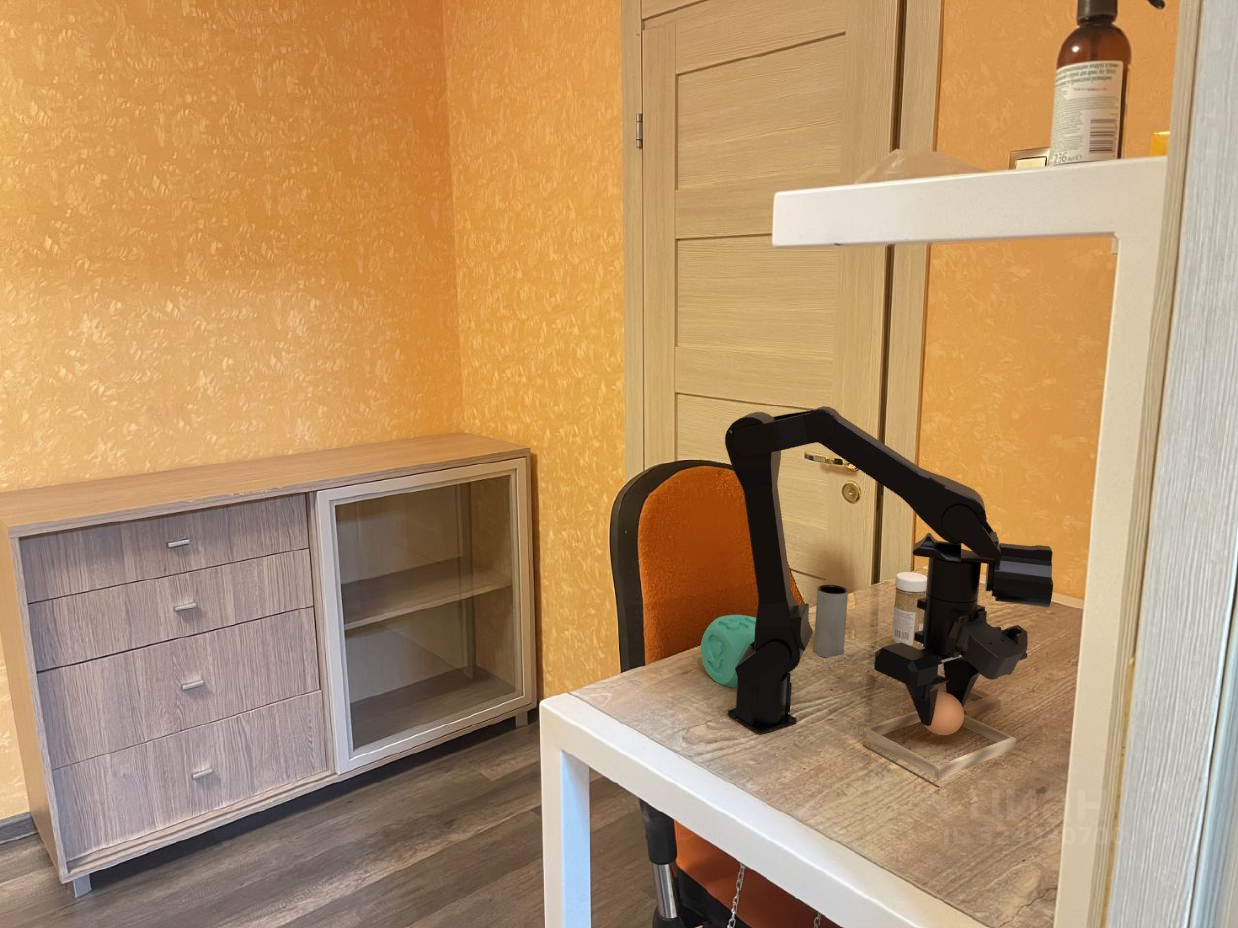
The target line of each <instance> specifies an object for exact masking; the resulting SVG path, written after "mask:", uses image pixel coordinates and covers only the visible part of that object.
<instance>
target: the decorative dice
mask: <svg viewBox="0 0 1238 928" xmlns="http://www.w3.org/2000/svg"><path fill="white" fill-rule="evenodd" d="M755 623H756V616H755V617H754V616H749V615H743V614H729V615H723V616H719V617H716V618H715V619H714V620H713V621H712V622H711V623H710V624H709V625H708V627H707V628H706V629H705V631H704V633H703V636H702V637H701V638H702V639H701V641H700V657H701V661H702V664H703V667H704V669H705V671H706V672H707V675H709V676H710V678H711V679H712V680H714V682H716V683H717V684H719V685H722V686H724V685H725V687H729V688H733V687H734V688H735V689H737V678H738V677H737V674H736V671H735V668H736V666H737V664H738V663H739V661H740V660H741V658H742V656H743V655H744V653H745V651H746V650H747V648H748V647H749V645H750V644H751V643H752V642H753V641H754V637H755ZM734 688H733V689H734Z"/></svg>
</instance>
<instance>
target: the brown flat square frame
mask: <svg viewBox="0 0 1238 928" xmlns="http://www.w3.org/2000/svg"><path fill="white" fill-rule="evenodd" d="M938 692H946V684H944V685H942V686H940V687H939V688H938ZM946 693H947V692H946ZM967 700H969V701H971V702H968V703H967V702H966V703H965V705H964V707H963V711H964V715H967V716H969V717H971V718H973V717H974V718H975V717H977V716H979V715H982V714H986V713H988V712H991V711H994V710H996V709H1000V708H1001V700H1002V699H999V698H997V697H995V696H992V695H990V694H988V693H986V692H983V691H981V690H978V689H977V688H974V687H973V688H972V690H971V692H970V694H969V696H968V698H967Z"/></svg>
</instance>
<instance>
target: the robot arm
mask: <svg viewBox="0 0 1238 928" xmlns="http://www.w3.org/2000/svg"><path fill="white" fill-rule="evenodd" d="M810 444H811V445H812V444H820V445H822V446H823V447H824V448H826V449H828V450H829V451H831V452H832V453H834V454H835V455H837V456H838V457H840V458H841V459H843V460H845V461H846V462H848V464H850V465H852V466H854V467H855V468H857V469H858V470H859V471H861V472H862V473H863V474H865V475H867V476H869V477H870V478H871V479H873V480H874V481H876V482H878V483H879V484H880V485H882V486H884V487H885V488H887V489H888V490H890V492H893V493H894V494H895V495H897V496H898V497H900V498H901V499H902V500H903V501H904V502H905V503H907V504H908V506H909V507H910V508H911V509H912V510H913V511H914V512H915V514H916V515H917V516H918V517H919V518H920V520H922V521H923V522H924V523H925V524H926V525H927V526H928V527H929V528H930V529H931V530H933V532H934V533H935V534H936V535H937V536H939V537H940V538H941V539H942V540H937V539H936V538H935V537H934V536H933V534H932V533H931V532H927V533H926V535H925V536H924V537H923V538H921V539H920V540H918V541H917V542H915V543H914V544H913V549H912V555H913V556H914V557H920V558H928V564H927V576H926V577H927V586H926V593H925V598H921V599H917V608H920V609H922V610H924V621H923V630H922V631H918V632H915V635H914V641H917V642H919V643H922V647H923V648H921V649H917V648H914V647H912V646H909V645H907V644H905V643H902V642H901V643H897V644H893V645H892V644H889V645H886V646H882V647H880V648H879V649H877V650H876V651H875V652H874V662H873V670H874V671H876V672H878V673H880V674H882V675H885V676H887V677H890V678H891V679H893V680H895V681H898V682H900V683H902V684H904V685H905V687H906V689H907V691H908V693H909V695H910V698H911V700H912V703H913V705H914V708H915V711H917V713H918V715H919V718H920V720H921V722H920V723H921V724H923V725H924V726H925V725H926V726H930V725H931V723H932V719H933V715H934V710H935V704H936V699H937V693H938V688H939V687H940V686H942V685H944V684H946V692H947V693H949V694H951V695H953V696H954V697H955V698H956V699H957V700H958V701H959V702H960V703H961V705H962V707H964V705H965V704H966V703H967V700H968V699H967V698H968V696H969V694H970V692H971V690H972V688H974V685H975V683H976V682H977V680H978V678H979V677H980V676H982V677H984V678H985V679H988V680H991V681H995V680H997V679H999V678H1000V677H1002V676H1006V675H1007V676H1010V675H1012V673H1014V671H1015V669H1016V666H1017V665H1018V663H1019V661H1022V660H1027V658H1028V653H1027V650H1028V644H1029V642H1028V631H1027V630H1025V629H1024V628H1023V627H1022V626H1020V625H1019V624H1016V625H1013V626H1009V627H1007V628H1005V629H1003V628H1002V627H1001V626H992V625H990V624H989V623H988V621H987V616H988V615H987V614H988V612H987V610H986V606H983V605H981V604H978V603H979V601H978V600H979V591H980V582H981V581H980V579H981V571H982V564H985V565H986V569H985V571H986V572H985V582H984V583H985V584H984V585H985V586H984V591H985V592H991V597H994V602H1001V603H1008V604H1018V605H1025V606H1031V607H1032V606H1033V607H1041V608H1050V606H1051V604H1052V597H1053V591H1054V581H1053V553H1054V552H1053V550H1052V548H1051V546H1049V545H1043V544H1042V545H1041V544H1039V545H1024V544H1014V543H1003V542H1000V539H999V537H998V534H997V532H996V531H994V530H993V528H992V526H991V525H990V524H989V523H988V521H987V520H988V518H987V514H986V512H987V511H986V506H985V501H984V499H983V498H982V496H981V495H980V494H979V492H978V491H976V489H973V488H972V487H970V486H967V485H965V484H963V483H960V482H958V481H956V480H954V479H952V478H949V477H946V476H944V475H940V474H937V473H935V472H933V471H932V472H931V471H929V470H927V469H924V468H922V467H920V466H918V465H917V464H915V463H914V462H912V461H911V460H909V459H907V458H906V457H905V456H903V455H901V454H900V453H899V452H897V451H895V450H894V449H892V448H891V447H889V446H888V445H886V444H885V443H883V442H882V441H880V439H879V440H878V438H876V437H874V436H872V435H871V434H870V433H868V432H866V431H865V430H863V429H862V428H860V427H859V426H857V425H855V424H854V423H852V422H851V421H849V420H848V419H846V418H845V417H844V416H842V415H841V414H840V413H839V412H838V411H837V410H836V409H835V408H833V407H831V406H825V405H824V406H820V407H817V408H815V409H811V410H805V411H804V410H803V411H799V412H792V413H791V412H790V413H785V414H781V415H774V416H772V415H771V414H770V413H766V412H763V411H755V412H750V413H748V414H746V415H744V416H741V417H740V418H738V419H736V420H735V421H733V422H732V423H731V424H730V426H729V427H728V429H727V430H726V433H725V435H724V445H725V449H726V452H727V455H728V458H729V461H730V465H731V468H732V470H733V472H734V474H735V476H736V478H737V480H738V482H739V485H740V487H741V489H742V490H743V491H742V492H743V496H744V504H745V511H746V519H747V526H748V534H749V541H750V546H751V547H750V548H751V554H752V561H753V569H754V577H755V584H756V591H757V597H758V598H757V600H758V601H757V603H758V604H757V608H756V609H757V612H756V616H755V618H756V623H755V637H754V641H753V642H752V643H751V644H750V645H749V647H748V648H747V650H746V651H745V653H744V655H743V656H742V658H741V660H740V661H739V663H738V664H737V666H736V668H735V671H736V674H737V677H738V678H737V688H736V702H735V703H736V704H735V707H734V708H732V709H729V710H727V716H728V717H731V718H732V719H734V720H735V721H737V722H738V723H741V725H743V726H745V727H747V728H749V729H750V730H752V731H753V732H755V733H757V734H759V735H761V734H762V735H763V734H765V733H768V732H769V733H770V732H772V731H775V730H779V729H781V728H785V727H788V726H791V725H795V724H797V721H798V718H797V717H795V716H793V715H791V714H790V713H791V704H792V703H791V702H792V686H793V683H792V682H791V672H793V671H794V670H795V669H796V668H797V667H798V666H799V664H800V662H801V660H802V657H803V655H804V653H805V651H806V650H807V646H808V645H809V643H810V640H811V638H812V635H813V633H814V630H813V628H812V627H811V624H810V621H809V618H810V617H809V615H810V605H809V603H802V604H798V602H797V600H796V597H795V595H794V593H793V591H792V585H791V577H790V571H789V569H790V568H789V561H788V555H787V547H786V539H785V531H784V525H783V524H784V523H783V518H782V509H781V502H780V494H779V488H778V487H779V486H778V485H779V484H778V480H779V473H780V466H781V458H782V451H785V450H789V449H793V448H797V447H802V446H806V445H810ZM962 544H963V545H964V546H965V547H967V548H968V549H963V548H962ZM942 667H943V673H944V676H942V675H941V671H942Z"/></svg>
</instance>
